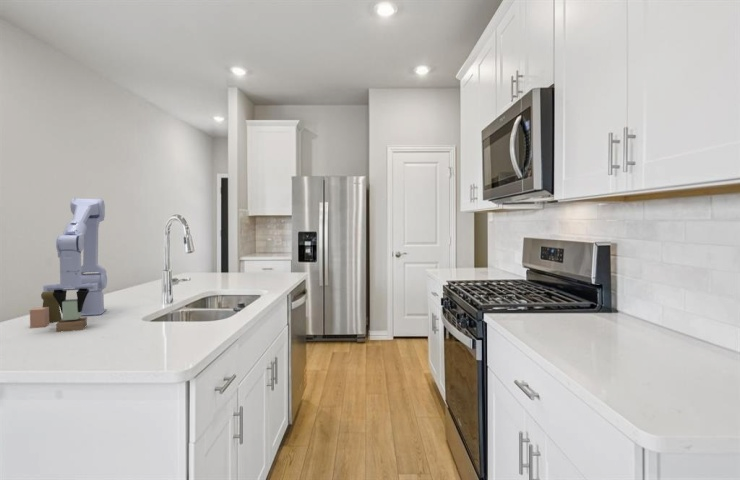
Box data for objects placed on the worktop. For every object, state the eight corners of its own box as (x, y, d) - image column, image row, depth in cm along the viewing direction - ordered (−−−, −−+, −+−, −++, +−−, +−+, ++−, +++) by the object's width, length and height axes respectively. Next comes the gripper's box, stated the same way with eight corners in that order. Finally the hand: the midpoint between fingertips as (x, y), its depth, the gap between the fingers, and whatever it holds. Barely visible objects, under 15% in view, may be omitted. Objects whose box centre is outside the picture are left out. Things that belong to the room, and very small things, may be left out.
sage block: (66, 317, 136) (66, 299, 136) (81, 316, 138) (80, 298, 138) (62, 320, 133) (62, 301, 132) (77, 319, 134) (76, 301, 134)
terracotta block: (35, 325, 139) (34, 307, 139) (49, 324, 141) (48, 307, 140) (30, 328, 136) (29, 310, 135) (45, 327, 137) (44, 309, 137)
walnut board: (61, 328, 137) (61, 319, 137) (86, 325, 140) (86, 317, 140) (56, 333, 131) (56, 323, 131) (82, 330, 134) (82, 321, 134)
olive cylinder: (52, 323, 142) (52, 291, 141) (35, 323, 142) (34, 291, 142) (66, 319, 148) (65, 289, 148) (49, 318, 148) (48, 288, 148)
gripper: (39, 273, 128) (40, 316, 129) (93, 271, 134) (94, 312, 134) (47, 270, 135) (48, 311, 136) (99, 269, 140) (99, 308, 141)
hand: (71, 312), depth 135 cm, fingers closed on sage block, 4 cm apart
